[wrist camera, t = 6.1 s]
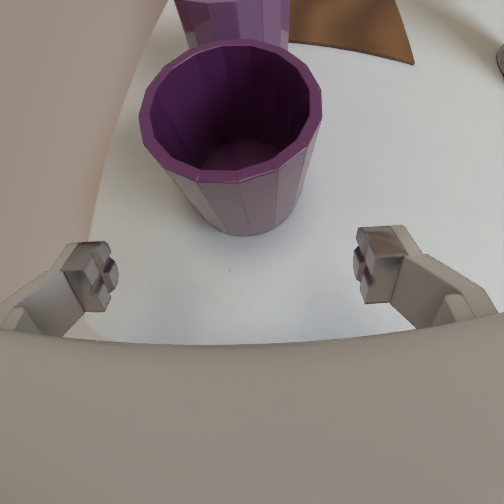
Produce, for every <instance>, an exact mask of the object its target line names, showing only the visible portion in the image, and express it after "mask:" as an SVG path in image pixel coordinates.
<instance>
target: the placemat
mask: <svg viewBox="0 0 504 504" xmlns="http://www.w3.org/2000/svg"><path fill="white" fill-rule="evenodd" d="M288 42H293V43H303V44H312V45H320V46H327V47H334V48H340V49H346V50H351V51H357V52H362V53H367V54H371V55H376V56H380V57H384V58H389V59H393V60H397V61H400V62H404V63H408V64H411V65H414V63H415V62H414V58H413V55H412V51H411V48H410V44H409V41H408V38H407V34H406V31H405V28H404V25H403V22H402V19H401V16H400V14H399V11H398V8H397V5H396V3H395V0H290V17H289V38H288Z"/></svg>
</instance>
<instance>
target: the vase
mask: <svg viewBox="0 0 504 504" xmlns="http://www.w3.org/2000/svg"><path fill="white" fill-rule="evenodd" d="M497 60H498V64H499V66H500V69H501V71H502V73H503V74H504V44H503V46H502V47H501V49H500V50H499V52H498V53H497Z"/></svg>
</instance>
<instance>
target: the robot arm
mask: <svg viewBox="0 0 504 504" xmlns="http://www.w3.org/2000/svg"><path fill="white" fill-rule="evenodd" d="M356 240H357V243H358V245H359V246H358V247H357V248H356V249H355V250H354V256H353V269H354V274H355V277H356V279H357V280H358V281H360V282H361V285H360V291H361V294H362V297H363V300H364V303H365V304H374V303H388V302H390V304H391V305H392V306H393V307H394V308H395V309H396V310H397V311H398V312H399V313H401V314H402V315H403V316H404V317H405V318H406V319H407V320H408V321H409V322H410V323H411V324H412V325H413V326H414V327H415V328H416V329H415V330H408V331H401V332H394V333H387V334H379V335H371V336H363V337H354V338H344V339H333V340H321V341H307V342H291V343H271V344H241V345H170V344H142V343H124V342H109V341H96V340H83V339H73V338H65V337H62V336H63V335H64V334H65V333H66V332H67V331H68V330H69V329H70V328H71V327H72V326H73V325H74V324H75V323H76V322H77V321H78V319H79V318H80V317H81V316H82V315H83V314H84V313H85V312H105V311H106V308H107V306H108V304H109V302H110V299H111V296H110V292H112V291H113V290H114V289H115V288H116V286H117V283H118V276H119V273H118V268H117V265H116V262H115V261H114V260H113V259H111V258H110V254H111V250H110V247H109V245H108V243H106V242H105V241H96V242H81V243H80V242H77V243H70V244H67V246H66V247H65V249H64V250H63V251H62V253H61V254H60V255H59V257H58V258H57V259H56V261H55V263H54V264H53V265H52V267H51V268H50V269H49V271H45V272H44V273H42V274H41V275H39V276H38V277H36V278H35V279H34V280H32V281H31V282H29V283H28V284H27V285H25V286H24V287H22V288H21V289H20V290H18V291H17V292H15V293H14V294H13V295H12V296H10V297H9V298H7V299H6V300H5V301H3V302H2V303H1V304H0V504H504V312H503V313H498V311H497V310H496V308H495V306H494V305H493V303H492V301H491V300H490V298H489V297H488V295H487V293H486V292H485V290H484V289H483V288H482V287H480V286H478V285H477V284H475V283H474V282H472V281H471V280H469V279H468V278H466V277H464V276H463V275H461V274H459V273H458V272H456V271H455V270H453V269H451V268H450V267H448V266H446V265H445V264H443V263H441V262H440V261H438V260H436V259H435V258H433V257H431V256H430V255H428V254H423V253H422V252H421V250H420V249H419V247H418V246H417V244H416V242H415V241H414V239H413V238H412V236H411V235H410V234H409V232H408V231H407V229H406V228H405V226H403V225H392V226H377V227H360V228H358V231H357V235H356Z"/></svg>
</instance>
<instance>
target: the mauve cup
mask: <svg viewBox="0 0 504 504" xmlns="http://www.w3.org/2000/svg"><path fill="white" fill-rule="evenodd" d="M174 2H175V6H176V9H177V12H178V15H179V18H180V21H181V24H182V27H183V30H184V33H185V36H186V39H187V42H188V45H189V48H190V49H192V48H195V47H198V46H201V45H205V44H208V43H211V42H215V41H218V40H226V39H253V40H258V41H261V42H265V43H268V44H272V45H275V46H278V47H282V48H284V49H285V50H287V51H288V38H289V17H290V0H174Z"/></svg>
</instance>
